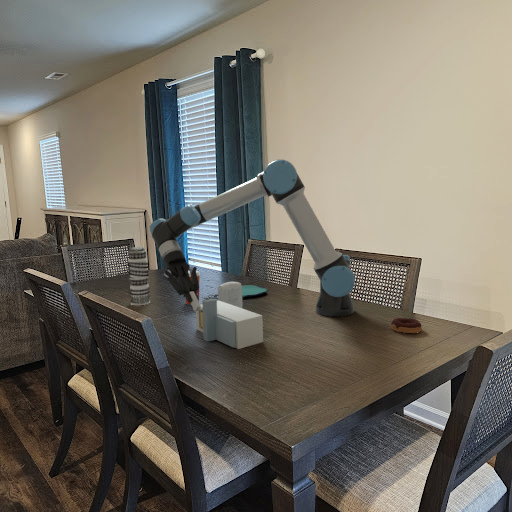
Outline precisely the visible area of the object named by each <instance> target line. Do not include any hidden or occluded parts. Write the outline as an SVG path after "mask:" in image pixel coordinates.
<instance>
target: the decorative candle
mask: <svg viewBox="0 0 512 512" xmlns="http://www.w3.org/2000/svg"><path fill="white" fill-rule="evenodd" d="M127 253H128V260H127V261H126V262H127V264H126V267H127V274H128V278H129V281H130V282H129V283H130V284H129V286H130V287H129V299H130V300H129V301H130V306H132V305H144V306H146V305H145V304H148V303H150V304H151V298H150V297H151V294H149V293H151V292H150V287H149V283H148V282H149V281H148V278H149V277H150V274H149V270H148V269H149V262H148V259H147V250H146V249H145V248H144V247H141V246H136V247H135V246H134V247H130V248H129V250H128V251H127ZM148 305H149V304H148Z"/></svg>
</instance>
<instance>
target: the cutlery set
mask: <svg viewBox="0 0 512 512" xmlns="http://www.w3.org/2000/svg"><path fill="white" fill-rule="evenodd" d="M267 292H268V289H267V288H265V287H262V286H258V285H255V284H254V285H242V299H244V298H245V297H255V296H259V295H263V294H267ZM209 296H211V297H209ZM212 296H215V297H214V299H215V300H218V294H217V293H216V294H215V295H214V294H210V295H208V297H207V296H202V297H201V298H202V299H203V300H208V299H212ZM203 297H204V298H203Z"/></svg>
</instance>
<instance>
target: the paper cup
mask: <svg viewBox="0 0 512 512" xmlns="http://www.w3.org/2000/svg"><path fill="white" fill-rule="evenodd" d="M188 273H189V277H190V279H191V274H190V271H188ZM196 274H197V279H198V283H199V284H200V275H201V273H200V271H198V270H196ZM191 281H192V279H191ZM189 293H190V292H189ZM196 293H197V295H198V297H199V298H200V288H199V289H198V291H197V292H196ZM184 299H185V304H186V303H187V305H188V304H191V303H189V302H188V301H187V299H186V297H184ZM198 301H199V302H200V299H199V300H198Z"/></svg>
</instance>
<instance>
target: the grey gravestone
mask: <svg viewBox="0 0 512 512" xmlns="http://www.w3.org/2000/svg"><path fill="white" fill-rule="evenodd" d="M242 286H243V285H242V284H241V282H238V281H227V282H224V283H221V284H220V285H218V288H217V293H218V294H217V295H218V296H217V298H218V299H217V301H222V302H225V303H228V304H231V305H233V306H236V307H239V308H242V309H243V298H242Z"/></svg>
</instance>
